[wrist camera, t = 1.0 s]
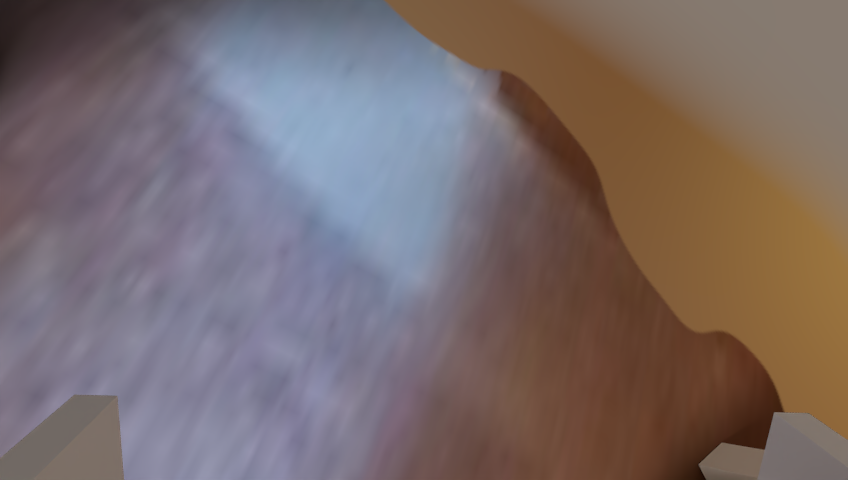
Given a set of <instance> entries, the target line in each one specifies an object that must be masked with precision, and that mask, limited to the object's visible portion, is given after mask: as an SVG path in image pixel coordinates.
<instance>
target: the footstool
mask: <svg viewBox="0 0 848 480" xmlns="http://www.w3.org/2000/svg"><path fill="white" fill-rule="evenodd" d="M764 451H765V450H762V449H756V448H751V447H745V446H739V445H733V444H727V443H721V444H720V445H719V446H717V447H716V448H715V449H714V450H713V451H712V452H711V453H710V454H709V455H708V456H707V457H706V458H705V459H704V460H703V461H701V462H700V463H699V464H698V465H699V467H700V469H701V471H702V473H703V475H704V477H705V479H706V480H757V479H758V475H759V471H760V467H761V463H762V459H763V455H764Z"/></svg>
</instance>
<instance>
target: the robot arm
mask: <svg viewBox="0 0 848 480" xmlns="http://www.w3.org/2000/svg"><path fill="white" fill-rule="evenodd" d="M0 480H124V475H123V462H122V449H121V437H120V424H119V411H118V398H117V396H102V395H74V396H72V397H71V398H70V399H69V400H68V401H67V402H65V403H64V404H63V405H62V406H61V407H60V408H58V409H57V410H56V411H55V412H54V413H53V414H51V415H50V416H49V417H48V418H47V419H46V420H44V421H43V422H42V423H41V424H40V425H38V426H37V427H36V428H35V429H34V430H33V431H31V432H30V433H29V434H28V435H27V436H26V437H24V438H23V439H22V440H21V441H20V442H19V443H17V444H16V445H15V446H14V447H13V448H11V449H10V450H9V451H8V452H7V453H6V454H4V455H3V456H2V457H1V458H0ZM757 480H848V440H847V439H845V438H844V437H842V436H841V435H839V434H838V433H837V432H835V431H833V430H832V429H831V428H829V427H828V426H826V425H825V424H823V423H822V422H821V421H819V420H817V419H816V418H815V417H813V416H812V415H810V414H809V413H783V412H774V415H773V419H772V423H771V427H770V431H769V435H768V439H767V443H766V447H765V451H764V455H763V459H762V463H761V467H760V471H759V475H758V479H757Z"/></svg>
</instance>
